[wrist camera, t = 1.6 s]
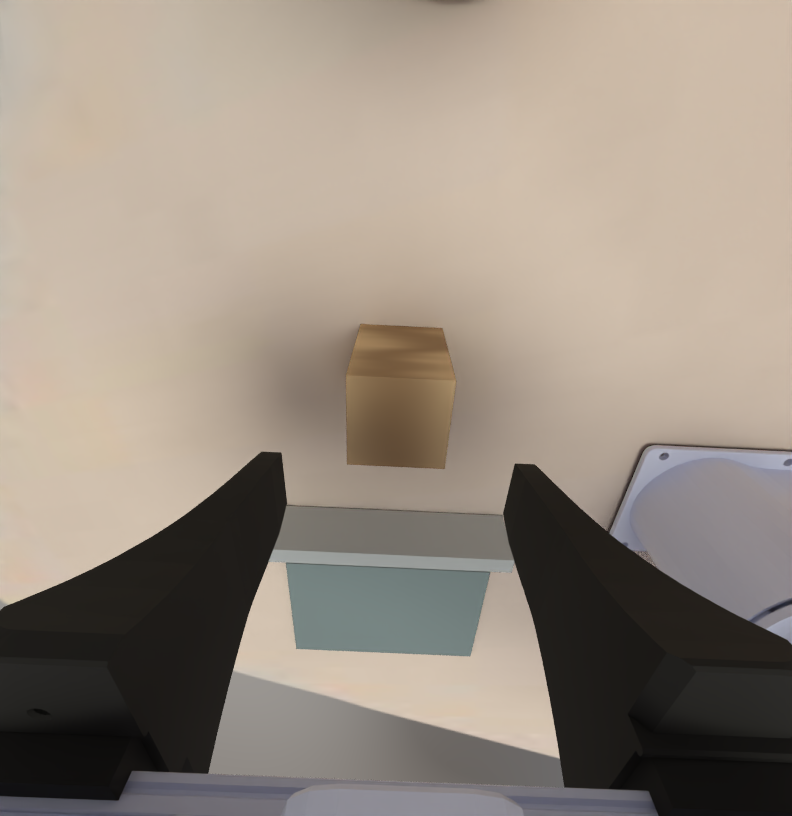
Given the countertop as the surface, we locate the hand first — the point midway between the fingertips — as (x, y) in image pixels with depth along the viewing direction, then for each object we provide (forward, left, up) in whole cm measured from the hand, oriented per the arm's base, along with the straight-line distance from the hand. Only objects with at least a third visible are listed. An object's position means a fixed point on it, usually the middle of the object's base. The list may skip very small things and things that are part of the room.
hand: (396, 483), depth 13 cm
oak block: (0, 0, -10) cm, 10 cm away
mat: (0, +20, -9) cm, 22 cm away
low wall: (0, +11, -9) cm, 14 cm away
